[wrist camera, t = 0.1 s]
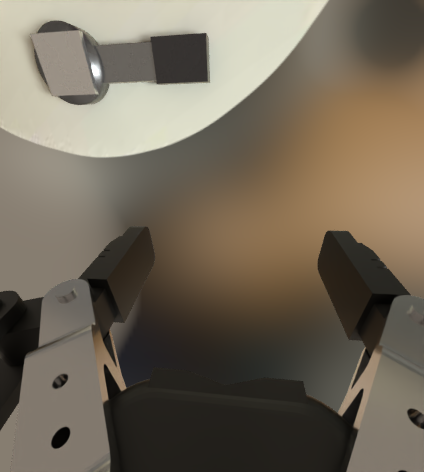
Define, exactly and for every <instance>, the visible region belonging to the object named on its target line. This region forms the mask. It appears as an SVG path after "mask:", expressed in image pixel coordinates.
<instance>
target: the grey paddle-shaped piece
mask: <svg viewBox="0 0 424 472" xmlns="http://www.w3.org/2000/svg"><path fill="white" fill-rule="evenodd" d="M30 36H31V39H32V41H33V44H34V52H35V59H36V63H37V66H38V69H39V71H40V74H41V76H42V78H43V79H44V81H45V82H46V84H47V85H48V87H49V89H50V92H51V94H52V96H58V97H60V98H61V99H63V100H64V101H66V102H68V103H71V104H76V105H86V104H94V103H97V102H99V101H100V100H102V99H103V98H104V96H105V95H106V93H107V91H108V88H109V84H113V83H135V82H157V84H161V85H165V84H188V83H210V71H209V38H208V36H207V34H206V33H202V34H187V35H173V36H158V37H151V42H143V43H128V44H113V45H98V43H97V42H96V41H95V40H94V38H93V37H92V36H90V35H89V34H88V33H87V32H85V31H84V30H82V29H80V28H78V27H75V26H73V25H71V24H68V23H66V22H62V21H50V22H48V23H46V24H44V25H43V26H42V27H41V28H40V29H39V31H38V33H35V34H30Z"/></svg>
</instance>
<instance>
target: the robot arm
mask: <svg viewBox="0 0 424 472" xmlns="http://www.w3.org/2000/svg"><path fill="white" fill-rule="evenodd" d="M154 261H155V254H154V249H153V244H152V240H151V235H150V231H149V229H148V227H144V226H131V227H129V228H128V229H127V231H126V232H125V233H124V234H123V236H120V237H118V238H116V239H115V240H113V241H111V242H110V243H109V244H108V245H107V246H106V248H105V249H104V251H102V252H101V253H100V254H99V256H98V257H97V258H96V259H95V260H94V261H93V263H92V264H91V265H90V266H89V267H88V268H87V269H86V270H85V272H84V273H83V274H82V275H81V276H80V277H79V278H78V279H72V280H68V281H65V282H62V283H60V284H58V285H57V286H55V287H53V288H52V289H51V290H50V291H48V293H47V294H46V295H45V296H44V297H42V298H36V299H30V300H26V301H23V300H22V299H21V298H20V296H19V295H18V294H17V293H16V292H14V291H3V292H0V430H1V429H2V427H3V426H4V424H5V423H6V421H7V419H8V418H9V417H10V415H11V413H12V412H13V411H14V409H15V407H16V406H17V404H18V403H19V407H18V408H19V409H18V415H17V423H16V431H15V440H14V447H13V455H12V463H11V471H10V472H424V299H422V298H419V297H416V296H411V295H410V293H409V292H408V291H407V290H406V289H405V288H404V287H403V285H402V284H401V283H400V282H399V281H398V279H397V278H396V277H395V276H394V275H393V274H392V272H391V271H390V270H389V269H387V267H386V265H385V264H384V263H383V262H382V261H380V258H379V257H378V256H377V255H376V254H375V253H374V251H373V250H371V249H370V248H368V247H366V246H365V245H363V244H362V243H357V242H356V240H355V239H354V238H353V236H352V235H351V234H350V233H349V232H348V231H327V232H326V234H325V237H324V240H323V244H322V247H321V251H320V254H319V258H318V271H319V274H320V276H321V279H322V281H323V283H324V285H325V288H326V290H327V292H328V294H329V296H330V299H331V301H332V303H333V306H334V308H335V310H336V312H337V315H338V317H339V319H340V321H341V323H342V326H343V328H344V330H345V332H346V335H347V337H348V339H349V340H360V341H363V343H364V345H365V349H364V350H363V352H362V354H361V357H360V360H359V362H358V365H357V368H356V371H355V373H354V376H353V378H352V381H351V384H350V387H349V389H348V392H347V394H346V397H345V399H344V401H343V403H342V405H341V407H340V409H339V411H338V413H337V412H336V411H334V410H333V409H332V408H330V407H329V406H327V405H326V404H324V403H323V402H321V401H319V400H317V399H315V398H313V397H311V396H309V395H307V394H306V392H305V388H304V384H303V381H294V380H284V379H274V378H261V379H255V380H250V381H245V382H240V383H235V384H230V385H224V384H220V383H218V382H215V381H213V380H210V379H208V378H206V377H203V376H200V375H198V374H195V373H193V372H191V371H187V370H176V369H165V368H154V369H153V372H152V375H151V378H150V379H148V380H145V381H142V382H139V383H136V384H135V385H132V386H130V387H128V388H126V386H125V383H124V380H123V378H122V375H121V371H120V367H119V363H118V359H117V354H116V350H115V346H114V342H113V337H112V333H111V331H110V327H111V325H112V324H113V322H120V323H125V321H126V319H127V317H128V315H129V313H130V311H131V309H132V307H133V305H134V303H135V301H136V299H137V297H138V295H139V293H140V291H141V289H142V287H143V285H144V283H145V281H146V279H147V277H148V275H149V273H150V271H151V269H152V267H153V265H154Z"/></svg>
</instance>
